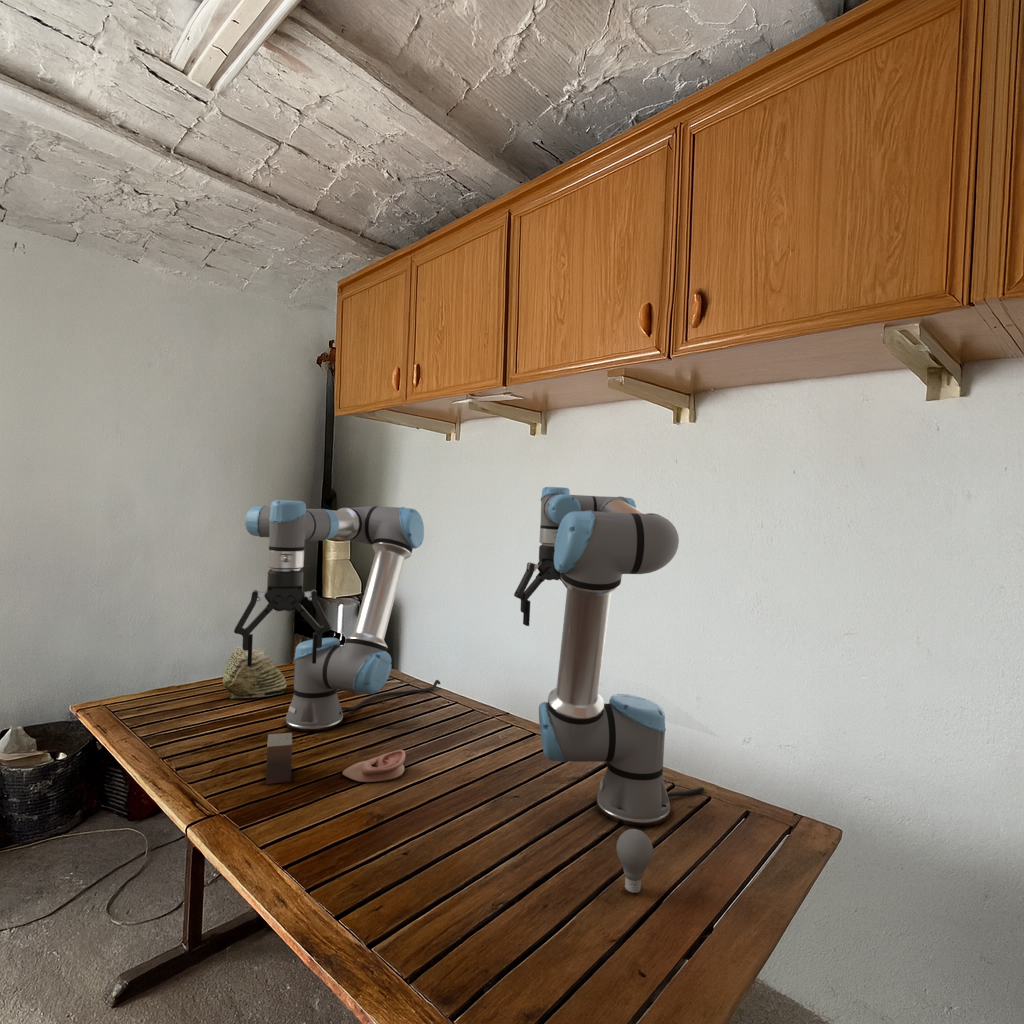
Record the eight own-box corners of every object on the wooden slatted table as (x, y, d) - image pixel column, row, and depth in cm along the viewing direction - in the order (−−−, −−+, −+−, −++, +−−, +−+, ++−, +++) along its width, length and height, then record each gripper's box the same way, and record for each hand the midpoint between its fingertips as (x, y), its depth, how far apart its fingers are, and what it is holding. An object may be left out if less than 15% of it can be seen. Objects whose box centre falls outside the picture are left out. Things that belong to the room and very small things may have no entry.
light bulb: (610, 879, 108) (613, 822, 108) (644, 879, 109) (647, 822, 109) (619, 902, 102) (622, 840, 102) (655, 901, 103) (658, 840, 103)
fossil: (218, 695, 195) (220, 647, 195) (278, 685, 208) (279, 640, 207) (228, 703, 189) (230, 653, 188) (289, 692, 201) (290, 645, 201)
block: (265, 784, 138) (267, 746, 138) (266, 770, 145) (268, 734, 145) (290, 782, 140) (292, 744, 140) (290, 768, 147) (292, 732, 147)
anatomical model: (336, 761, 142) (359, 742, 153) (336, 778, 142) (358, 758, 153) (392, 768, 139) (411, 749, 151) (391, 786, 139) (410, 765, 151)
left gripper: (223, 570, 134) (219, 670, 134) (344, 571, 142) (341, 665, 143) (226, 566, 141) (223, 661, 141) (341, 567, 149) (338, 656, 150)
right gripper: (514, 545, 161) (510, 628, 161) (601, 546, 169) (598, 625, 170) (504, 543, 168) (501, 622, 168) (589, 544, 176) (585, 620, 177)
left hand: (282, 663), depth 142 cm, fingers open, 13 cm apart
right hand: (549, 624), depth 169 cm, fingers open, 13 cm apart
